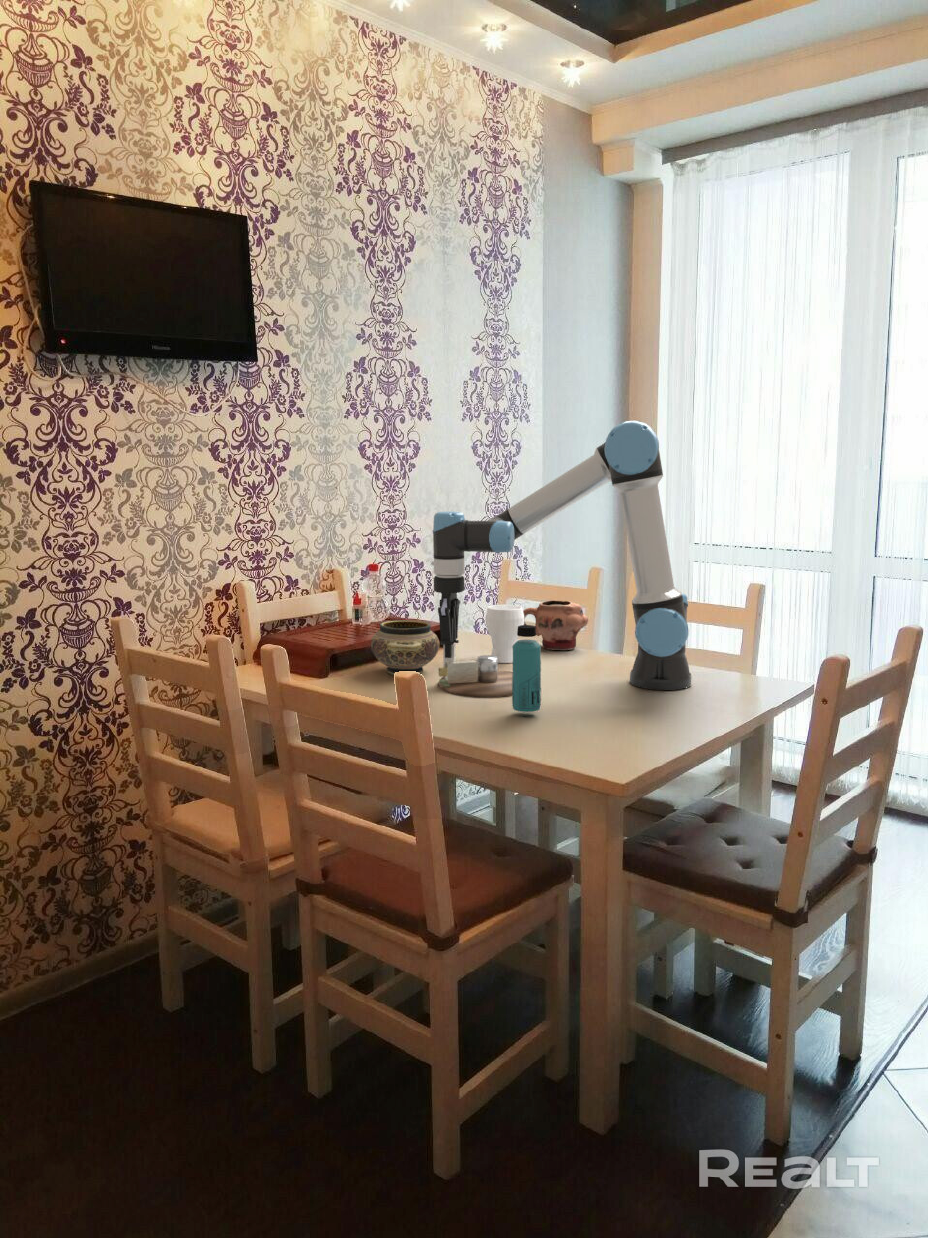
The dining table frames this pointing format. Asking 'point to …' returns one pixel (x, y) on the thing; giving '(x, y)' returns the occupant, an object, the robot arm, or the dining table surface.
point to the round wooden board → (482, 687)
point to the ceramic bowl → (405, 645)
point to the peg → (471, 670)
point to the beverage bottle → (526, 671)
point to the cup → (504, 629)
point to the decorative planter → (558, 623)
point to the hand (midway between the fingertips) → (449, 669)
